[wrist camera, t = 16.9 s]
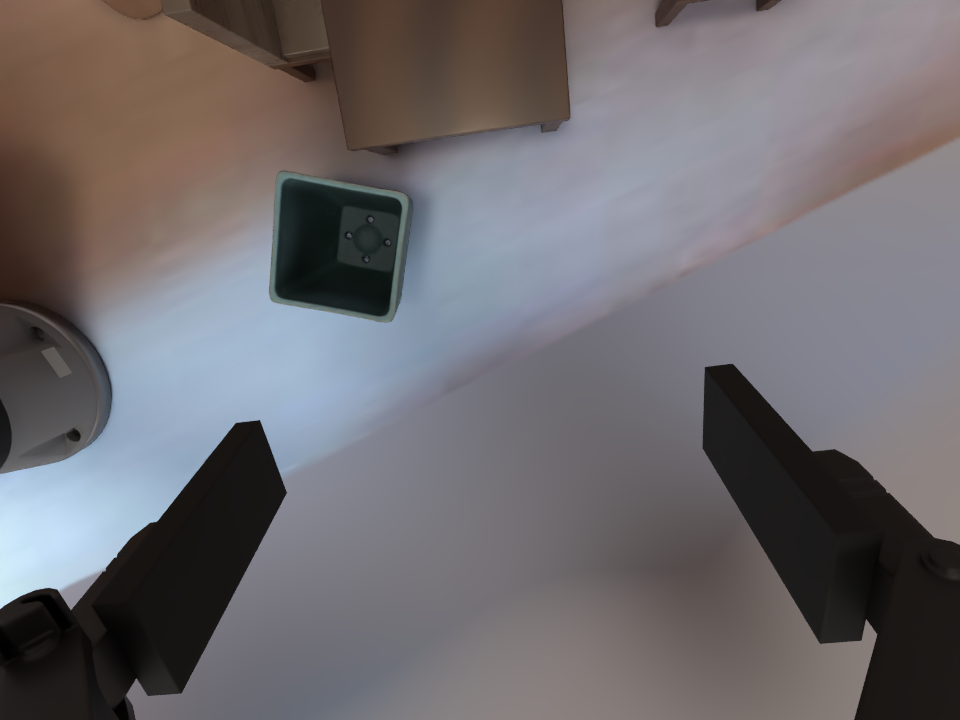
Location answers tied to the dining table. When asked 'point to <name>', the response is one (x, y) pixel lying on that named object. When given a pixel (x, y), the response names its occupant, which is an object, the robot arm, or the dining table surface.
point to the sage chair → (676, 3)
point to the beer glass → (136, 8)
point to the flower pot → (338, 246)
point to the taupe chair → (261, 29)
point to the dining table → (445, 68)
